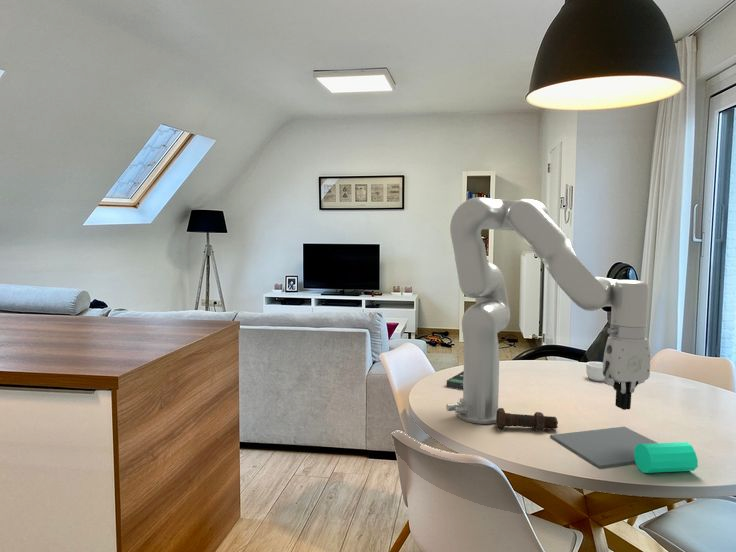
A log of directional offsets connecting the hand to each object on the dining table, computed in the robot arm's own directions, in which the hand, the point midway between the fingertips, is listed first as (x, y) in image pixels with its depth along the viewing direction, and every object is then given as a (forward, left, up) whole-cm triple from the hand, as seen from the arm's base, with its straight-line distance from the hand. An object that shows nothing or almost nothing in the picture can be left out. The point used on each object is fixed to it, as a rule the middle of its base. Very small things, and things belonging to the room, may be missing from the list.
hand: (622, 407), depth 128 cm
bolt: (-16, +15, -10) cm, 24 cm away
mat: (-3, -1, -9) cm, 10 cm away
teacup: (+33, +48, -9) cm, 59 cm away
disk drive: (-13, +56, -10) cm, 58 cm away
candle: (-6, -13, -6) cm, 16 cm away
